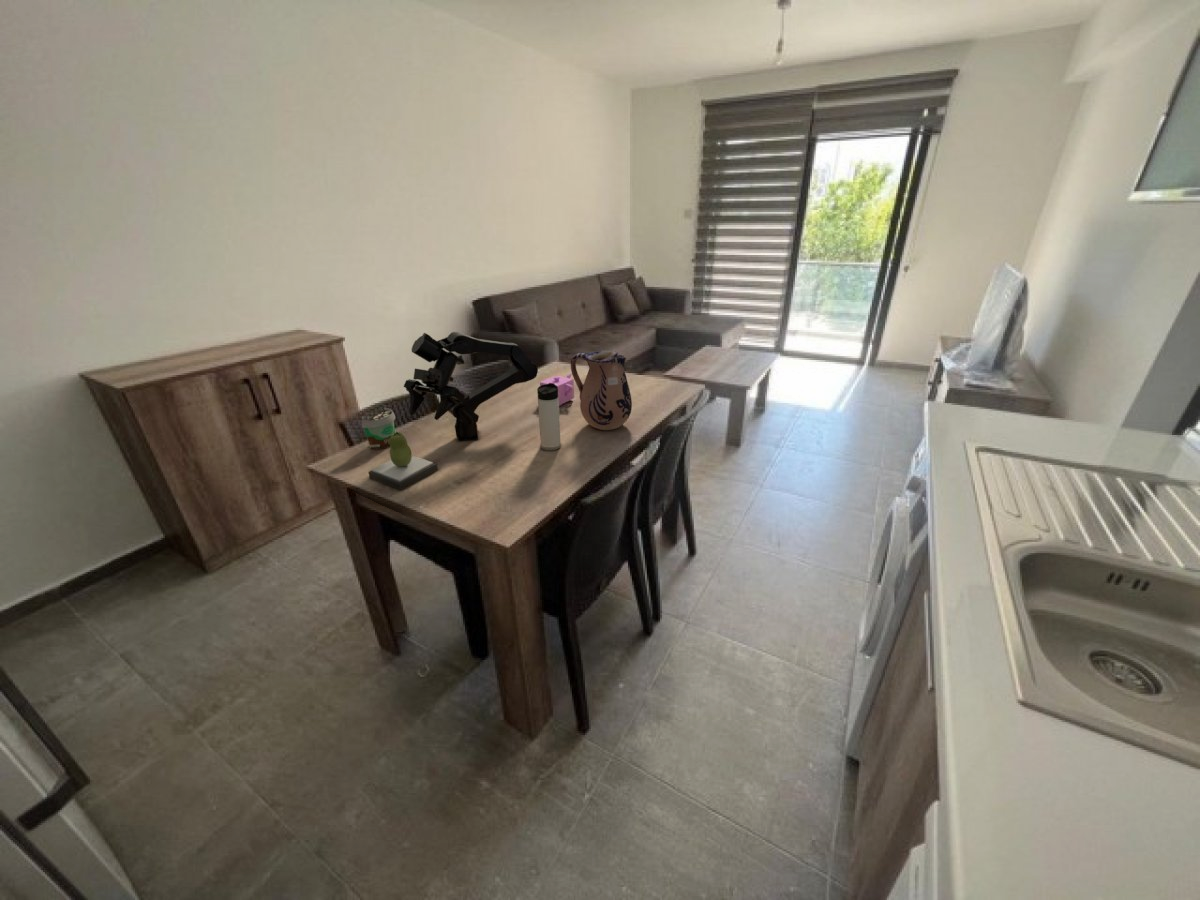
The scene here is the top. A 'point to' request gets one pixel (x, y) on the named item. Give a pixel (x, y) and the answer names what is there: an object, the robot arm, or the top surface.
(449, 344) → the robot arm
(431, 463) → the kitchen scale
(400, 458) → the pear
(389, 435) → the food container
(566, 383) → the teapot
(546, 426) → the travel mug
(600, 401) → the ceramic pitcher
